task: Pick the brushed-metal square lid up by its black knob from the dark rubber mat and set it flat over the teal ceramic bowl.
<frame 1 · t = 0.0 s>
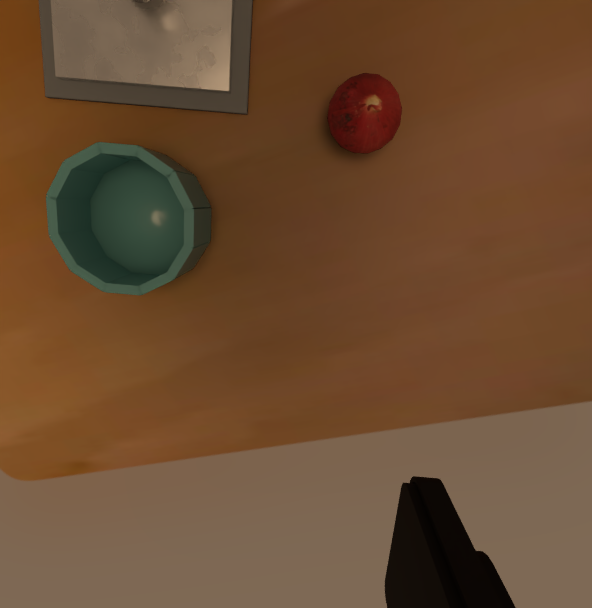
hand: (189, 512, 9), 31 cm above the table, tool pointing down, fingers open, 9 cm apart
bowl: (148, 219, 38), on the table
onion: (357, 124, 36), on the table
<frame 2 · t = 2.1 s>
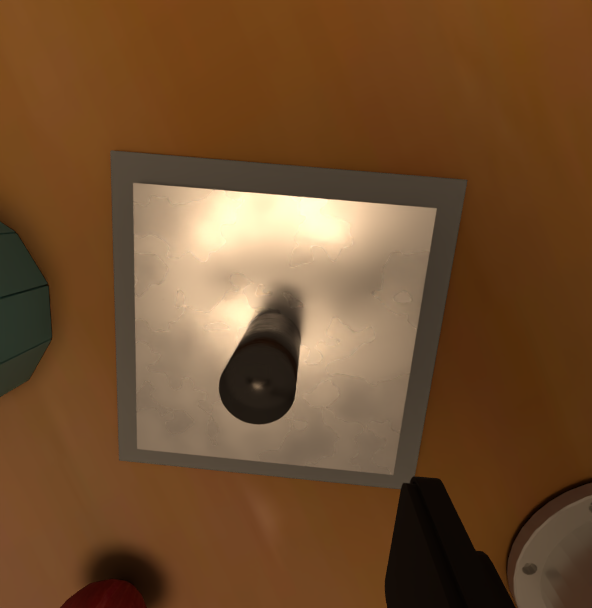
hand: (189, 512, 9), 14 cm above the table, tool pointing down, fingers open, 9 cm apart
lid: (274, 335, 22), resting on mat
mat: (275, 333, 22), on the table
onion: (126, 580, 27), on the table
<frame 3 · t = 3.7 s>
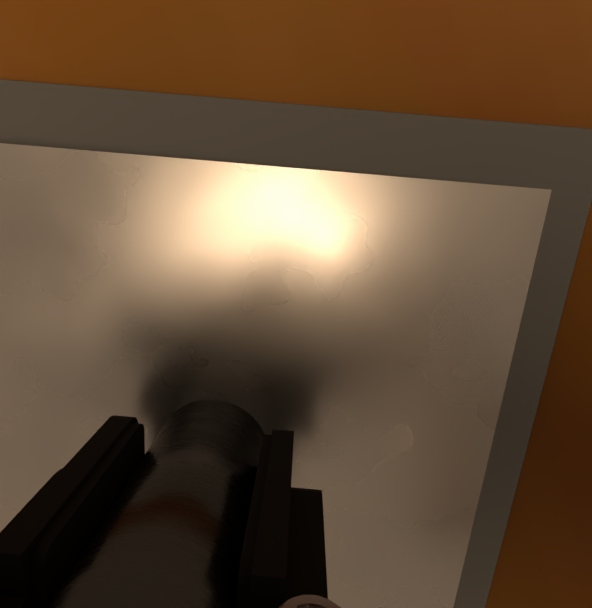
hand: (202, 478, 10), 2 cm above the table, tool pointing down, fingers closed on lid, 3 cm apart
lid: (219, 432, 12), resting on mat, touching gripper
mat: (222, 425, 12), on the table
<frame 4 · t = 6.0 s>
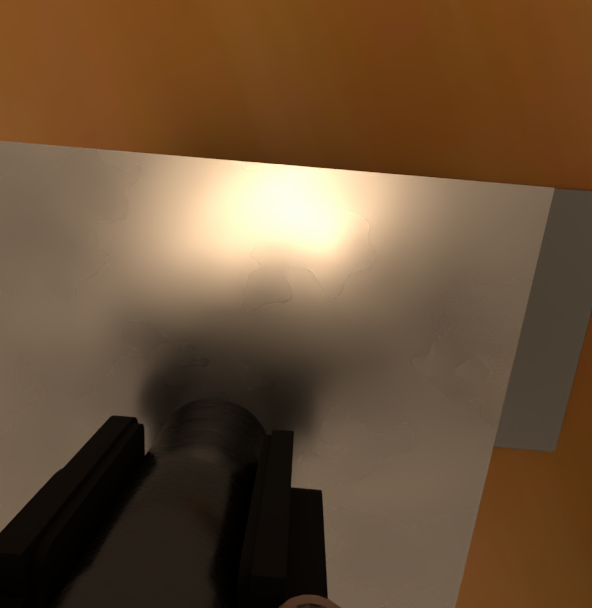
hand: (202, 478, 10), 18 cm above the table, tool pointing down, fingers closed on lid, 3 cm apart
lid: (221, 431, 12), point 16 cm above the table, touching gripper
mat: (447, 320, 27), on the table
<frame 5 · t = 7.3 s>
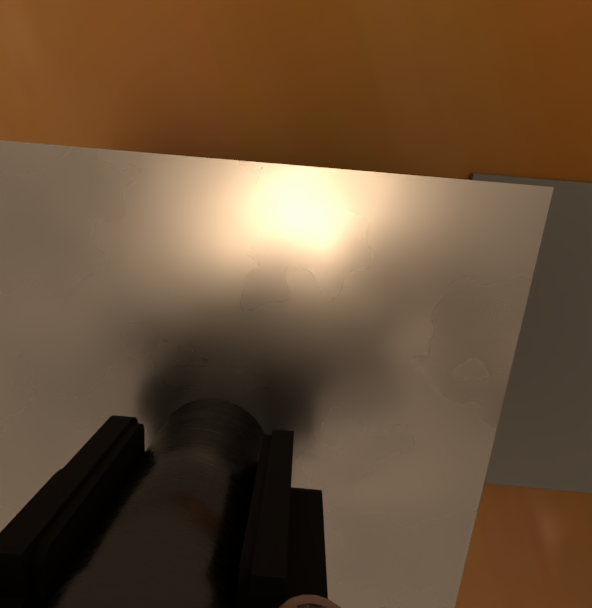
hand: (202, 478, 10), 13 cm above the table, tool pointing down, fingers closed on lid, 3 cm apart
lid: (219, 431, 12), point 11 cm above the table, touching gripper
when the fingers open (10 cm above the table, at t = 8.1 s): lid drops 2 cm, resting on bowl.
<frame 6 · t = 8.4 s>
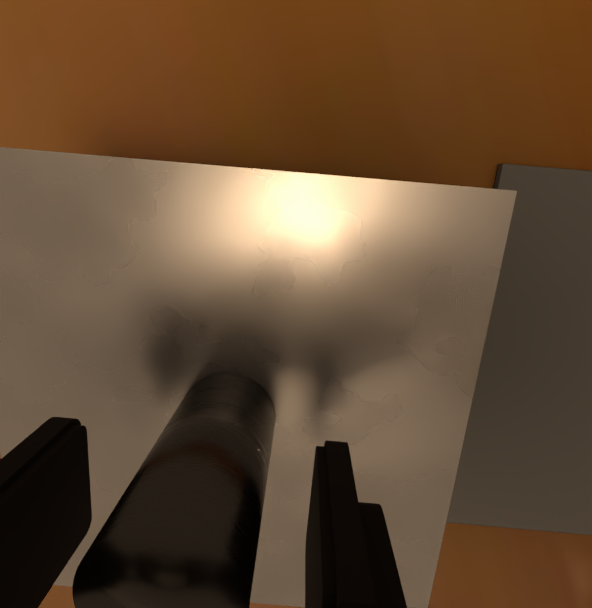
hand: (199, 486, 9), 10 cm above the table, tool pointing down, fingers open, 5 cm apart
lid: (232, 403, 13), point 6 cm above the table, touching bowl
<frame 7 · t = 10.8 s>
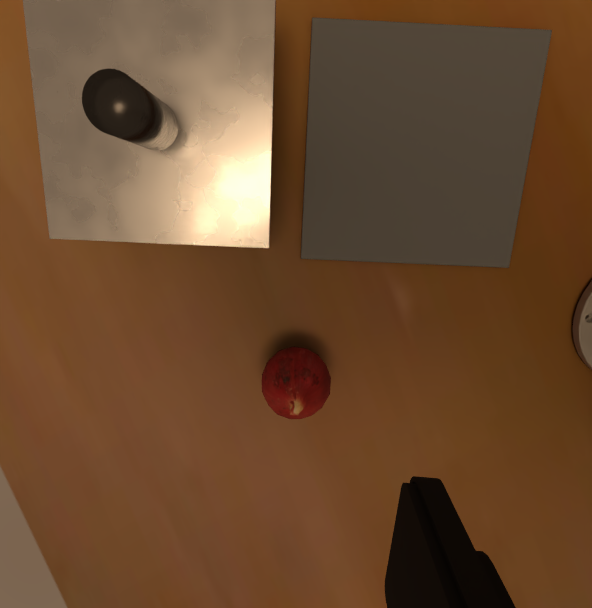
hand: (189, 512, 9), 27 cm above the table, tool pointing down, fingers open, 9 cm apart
lid: (158, 127, 26), point 6 cm above the table, touching bowl
mat: (416, 152, 32), on the table
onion: (295, 363, 37), on the table
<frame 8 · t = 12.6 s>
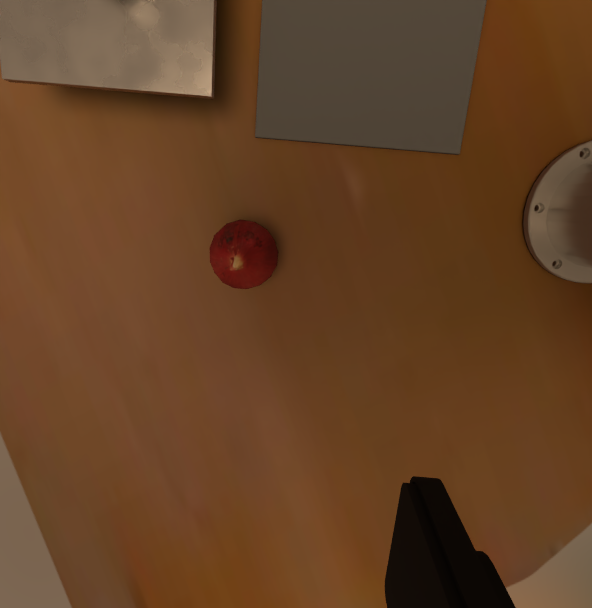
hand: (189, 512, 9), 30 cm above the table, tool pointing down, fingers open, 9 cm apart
mat: (369, 30, 33), on the table
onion: (250, 249, 38), on the table
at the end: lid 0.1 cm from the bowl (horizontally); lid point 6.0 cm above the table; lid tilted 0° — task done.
